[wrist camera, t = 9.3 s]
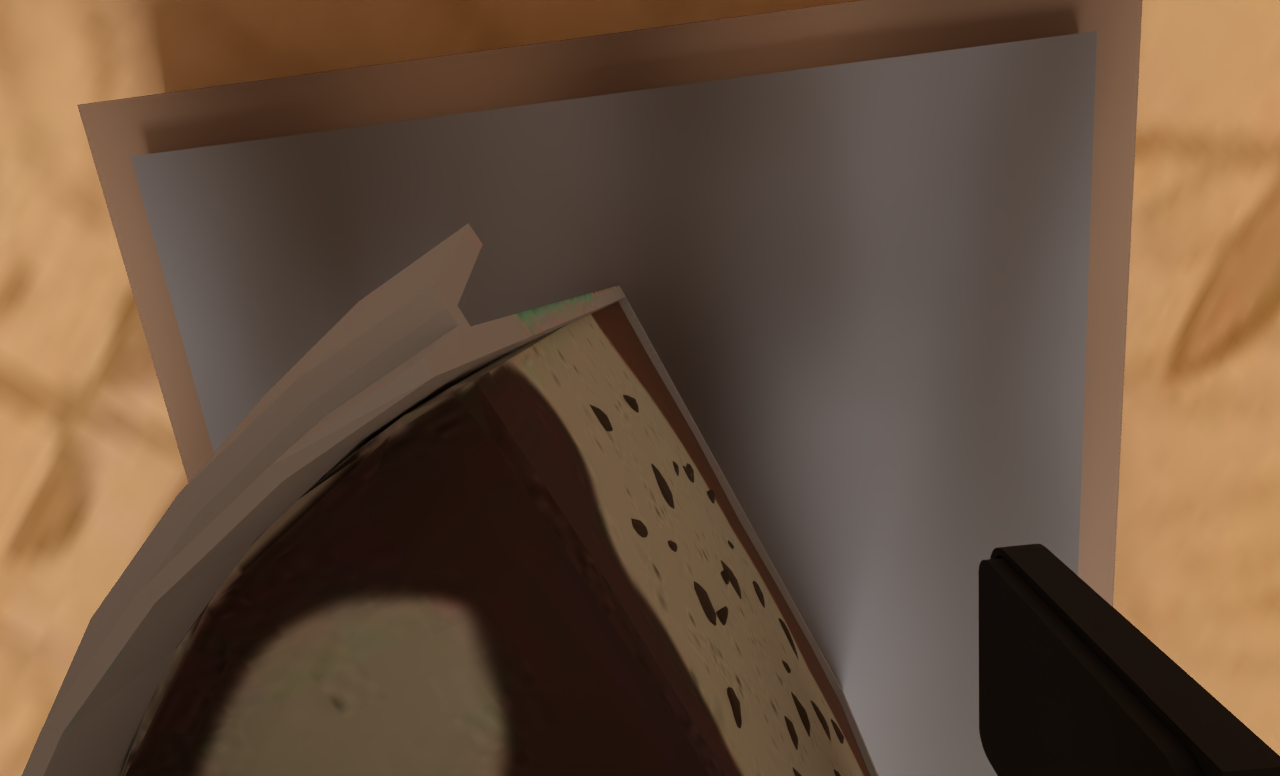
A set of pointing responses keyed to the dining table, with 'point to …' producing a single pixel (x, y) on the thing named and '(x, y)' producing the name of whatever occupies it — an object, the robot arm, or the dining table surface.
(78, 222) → the dining table surface
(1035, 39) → the podium
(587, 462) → the food container
